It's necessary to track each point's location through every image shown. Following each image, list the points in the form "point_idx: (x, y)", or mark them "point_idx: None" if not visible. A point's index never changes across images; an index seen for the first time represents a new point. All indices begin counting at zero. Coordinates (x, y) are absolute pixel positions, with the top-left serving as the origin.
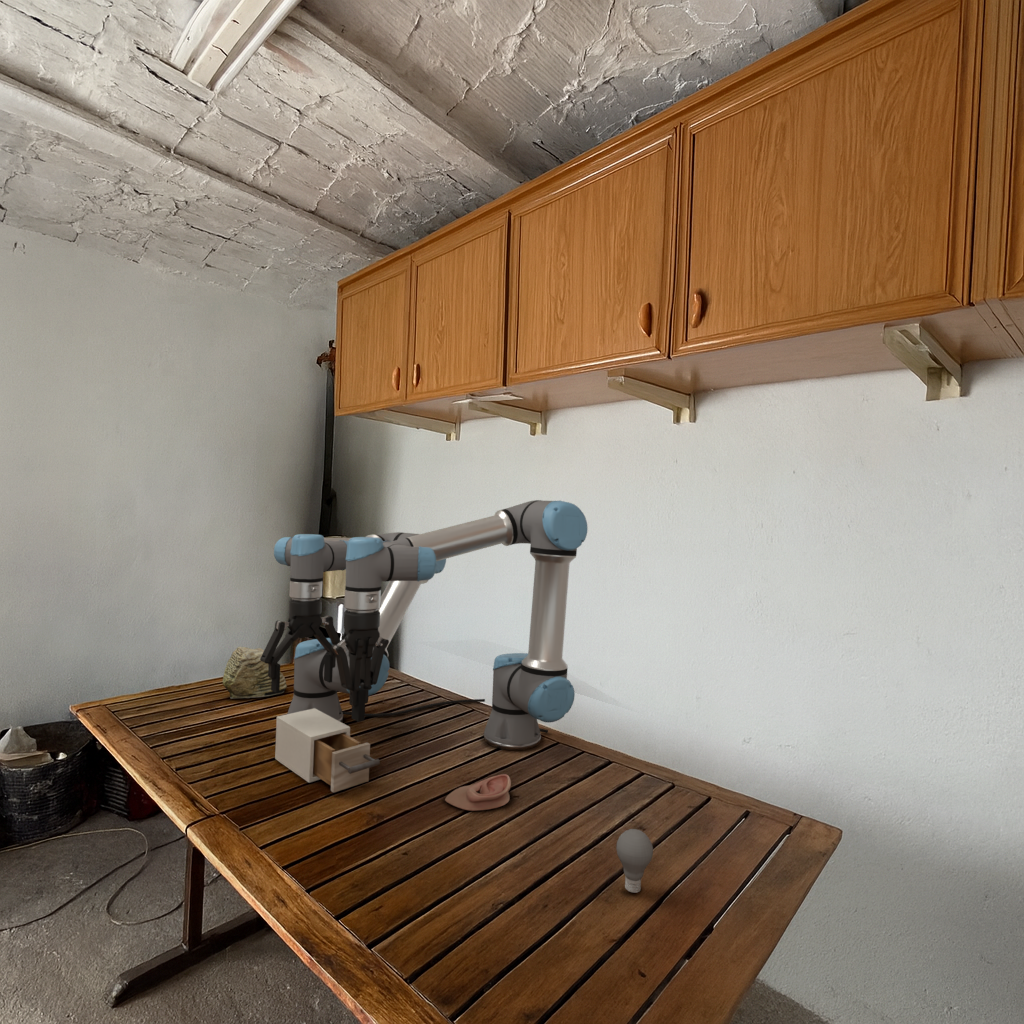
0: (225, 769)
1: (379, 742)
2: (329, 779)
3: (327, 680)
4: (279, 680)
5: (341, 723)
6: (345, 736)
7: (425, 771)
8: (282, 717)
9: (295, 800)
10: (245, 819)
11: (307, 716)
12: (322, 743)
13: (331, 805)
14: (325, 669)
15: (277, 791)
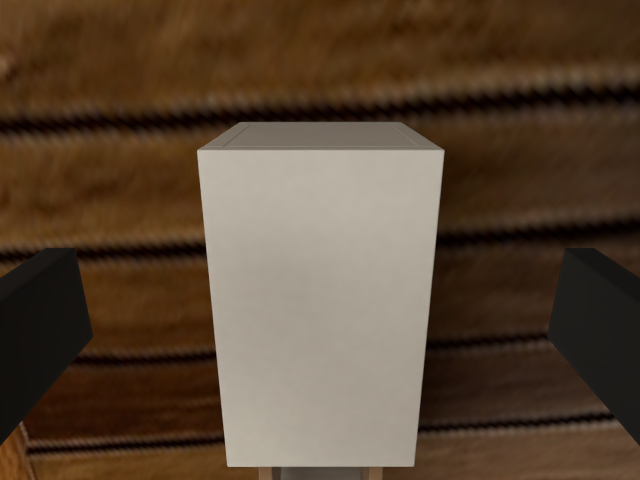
0: (55, 94)
1: (620, 227)
2: None
3: (558, 314)
4: (31, 405)
5: (411, 417)
6: (369, 470)
7: (541, 470)
8: (219, 186)
9: (182, 412)
10: (47, 422)
11: (337, 250)
12: (264, 477)
13: (244, 476)
14: (628, 324)
15: (159, 345)
